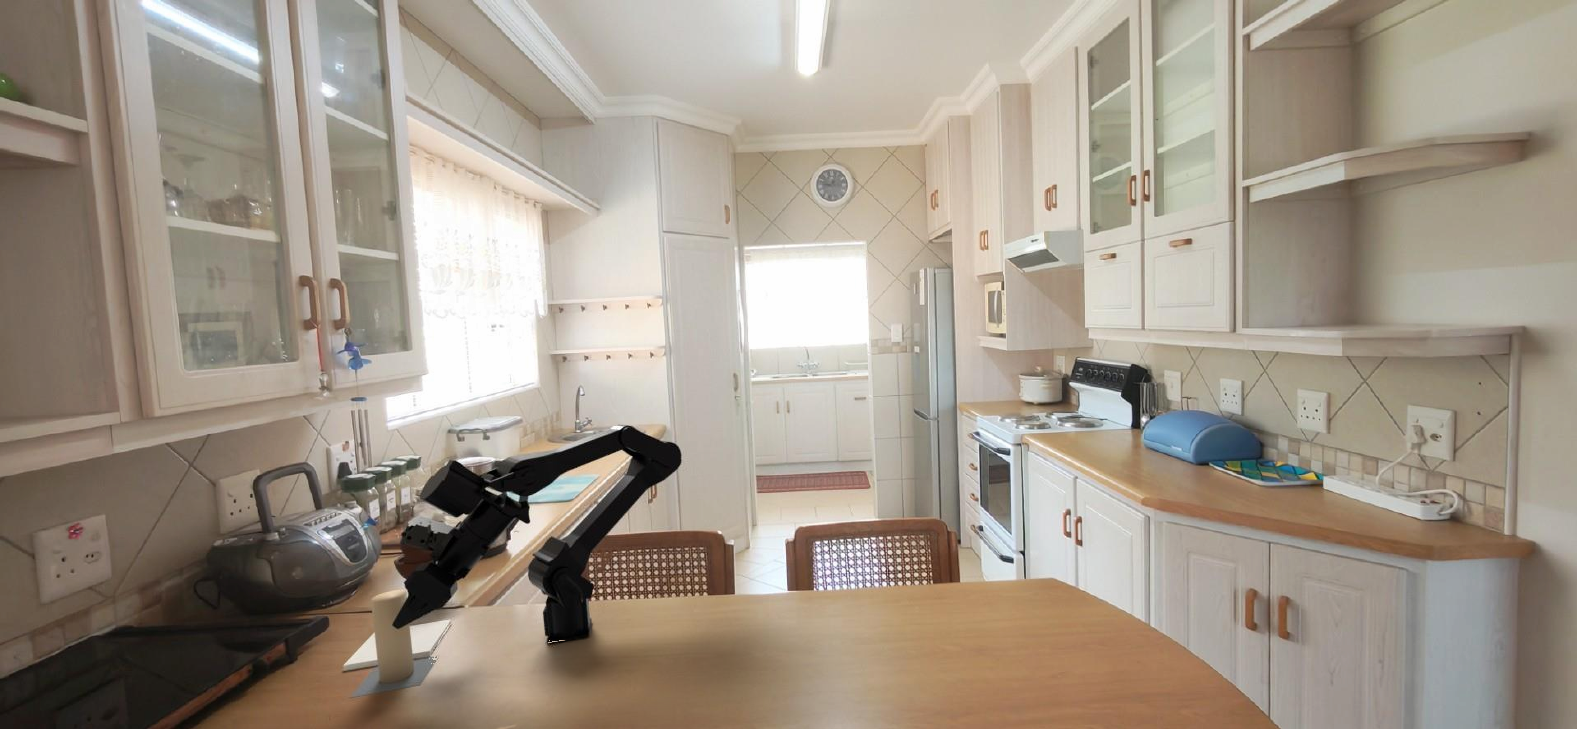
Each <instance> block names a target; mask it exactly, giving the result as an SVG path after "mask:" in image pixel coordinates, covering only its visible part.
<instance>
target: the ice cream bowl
mask: <svg viewBox="0 0 1577 729" xmlns="http://www.w3.org/2000/svg"><path fill="white" fill-rule="evenodd" d="M400 541H401V539H400ZM400 541H399V542H400ZM399 549H400V551H401V552H402V555H401V556H399V557H398V558H396V559H394V560H393V564H394V566H395V570H396V571H397V572H398V574H399V575H400V576H401V577H402V578H403V579H404V580H406V579H407V578H408V577H409V576H410V575H411V574H412V573H413V571H414V570H415V569H416V568H417V567H418V566H419V565H420V564H423V563H430V562H431V563H433V559H432V558H430V557H429V554H430V553H431V552H432V551H428V550H424V549H420V548H416V547H412V546H408V547H407V546H404V545H401V544H400V543H399Z"/></svg>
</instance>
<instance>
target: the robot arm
mask: <svg viewBox="0 0 1577 729" xmlns="http://www.w3.org/2000/svg"><path fill="white" fill-rule="evenodd" d="M620 451H622V452H624V453H625V454H626V455H628V456H630V457H631V458H630V461H629V463H628V464H629V465H628V467H627V471H626V473H625V474H624V476H622V477H621V479H620V480H619V481H618V482H616V484H615V485H614V486H613V487H612V488H611V489H610V490H609V491H608V492H607V493H606V494H605V496H604V497H603V498H602V499H601V500H600V501H599V502H598V503H597V504H596V506H594V508H592V510H591V511H590V512H589V513H588V514H587V515H586V516H585V517H584V518H583V519H582V521H581V522H579V523H578V525H576V527H575V528H574V529H573V530H572V531H571V532H570V533H569V534H568V535H567V536H565V537H563V538H561V539H560V538H558V537H555V536H552V535H551V536H550V537H549V538H548V539H546V541H545V542H544V544H543V545H542V546H541V548H539V549H538V550H537V551H536V552H533V553H532V554H531V555H532V557H534V558H532V560H531V561H530V563H529V565H528V567H527V569H528V571H527V573H528V574H527V577H528V580H529V582H530V583H531V585H533V587H536V588H537V589H539V590H540V591H541V593H542V595H544V596H547V598H546V601H545V606H544V608H543V610H542V618H543V628H544V629H543V630H544V636H545V637H547V639H546V643H547V642H552V641H559V640H568V641H573V640H572V639H574V640H578V639H585V638H589V637H590V636H591V629H592V623H593V620H592V619H593V618H592V617H591V616H590V615H591V613H590V604H589V603H590V602H589V599H591V598H592V597H593V594H594V593H593V592H594V586H595V584H594V583H593V582H592V581H590V580H588V579H586V578H585V577H584V576H583V574H584V573H585V571H586V569H587V566H588V563H589V560H590V556H591V554H592V552H593V551H594V550H595V549H596V548H597V547H598V545H599V544H601V542H602V541H603V540H604V539H605V538H606V536H607V535H608V534H609V533H610V532H611V531H612V530H613V529H614V527H616V525H617V524H618V523H619V522H620V521H621V520H622V518H623V517H624V516H625V515H626V514H627V513H628V512H629V511H630V510H631V508H632V507H633V506H634V505H635V504H636V503H637V501H638V500H639V499H640V498H641V497H642V496H643V495H644V494H645V493H646V491H647V490H649V489H650V488H652V487H654V486H656V485H658V484H660V483H661V482H664V481H666V480H667V479H668V478H669V477H670V476H671V475H673V474H674V473H675V472H676V471H677V470H678V469H679V468H680V467H681V465H682V461H683V460H682V451H681V448H680V447H679V445H677V443H675V442H673V441H666V440H665V441H664V440H661V439H658V438H656V437H653V436H651V435H649V434H647V433H644V432H643V431H641V430H639V429H636V427H634V426H633V425H630V424H628V425H627V424H615V425H613V426H611V428H608V429H606V430H602V431H600V432H597V433H594V434H592V435H589V436H587V437H584V438H581V439H578V440H575V441H572V442H570V443H568V444H565V445H561V446H559V447H556V448H554V449H550V450H545V451H536V452H529V453H528V452H527V453H524V454H517V455H513V456H512V455H511V456H509V457H506V458H504V459H503V460H502V461H500V462H499V465H498V467H495V468H493V469H491V470H487V471H484V472H482V473H480V474H477V473H475V472H474V471H472V470H470V469H468V468H467V467H466V466H464V465H463V463H461V462H459V461H458V460H455V459H453V458H452V459H449V460H448V461H447V463H446V464H445V465H444V466H442V467H441V468H440V469H438V470H437V472H435V474H433V475H431V476H430V477H429V479H428V480H427V481H426V482H425V484H424V486H423V487H422V489H421V492H420V494H419V500H421V501H422V502H425V503H426V504H429V505H430V506H432V507H434V508H436V509H437V510H440V511H442V512H443V513H446V514H447V515H449V516H451V517H453V518H455V519H457V518H459V517H462V516H463V515H465V518H464V519H463V520H462V521H461V520H459V522H458V523H457V524H456V525H455V526H452V525H449V524H447V523H445V522H442V521H437V520H434V519H431V518H427V517H424V516H414V517H413V518H412V519H410V520H409V521H408V522H407V524H406V526H405V529H404V530H403V531H402V532H401V534H400V536H401V539H400V540H401V541H399V544H401V545H404V546H407V547H408V546H412V547H416V548H420V549H424V550H428V551H432V552H431V553H430V554H429V557H430V558H432V559H433V563H431V562H430V563H423V564H420V565H419V566H418V567H417V568H416V569H415V570H414V571H413V573H412V574H411V575H410V576H409V577H408V578H407V579H404V582H403V584H404V588H405V590H406V592H407V599H406V601H405V603H404V604H403V606H402V608H401V610H400V611H399V613H398V615H397V617H396V618H395V620H394V622H393V624H392V626H393V627H395V628H396V629H400V628H402V627H404V626H405V625H407V624H409V623H410V624H411V623H413V622H415V621H417V620H419V619H420V618H423V617H425V616H426V615H429V614H431V613H433V612H434V611H436V610H440V609H441V610H442V609H443V608H444V607H445V606H446V605H447V604H448V602H449V601H450V600H451V599H452V597H454V595H455V594H456V592H457V591H458V582H459V581H460V580H461V579H465V578H466V577H467V576H468V575H469V573H470V572H471V570H472V569H474V568H475V566H476V565H477V563H478V562H479V561H480V560H481V558H482V557H484V556H485V555H486V554H487V552H489V550H490V549H491V548H492V546H493V545H494V544H495V542H497V540H498V539H499V538H500V537H501V536H502V535H503V533H504V532H505V531H506V530H507V529H508V528H509V527H510V525H512V523H513V522H514V521H515V519H517V520H519V521H520V522H522V523H525V524H527V525H528V524H530V523H531V518H530V508H531V507H530V503H529V501H528V500H523V501H517V500H516V499H514V498H512V497H510V496H508V495H507V494H505V493H511V494H514V495H516V496H518V497H519V496H520V497H530V496H533V495H535V494H537V493H538V492H540V491H542V490H543V489H545V488H547V487H549V486H550V485H552V484H553V483H554V482H555V481H556V480H558V479H559V477H561V476H562V475H564V474H566V473H567V472H570V471H573V470H575V469H578V468H579V467H582V466H585V465H588V464H590V463H593V462H595V461H597V460H600V459H602V458H605V457H607V456H610V455H612V454H616V453H618V452H620ZM487 489H490V490H492V491H496V492H499V493H500V494H497V493H493V492H491V491H489V490H487ZM589 635H590V636H589ZM549 640H550V641H549Z"/></svg>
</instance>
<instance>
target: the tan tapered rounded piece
mask: <svg viewBox="0 0 1577 729" xmlns="http://www.w3.org/2000/svg"><path fill="white" fill-rule="evenodd" d="M407 597H408V593H407V590H406V589H405V590H403V589H397V590H390V591H387V592H386V591H385V592H383V593H380V594H377V595H375V596H374V597H373V598H371V599H370V601H371V611H372V621H373V631H374V632H375V642H376V651H377V661H378V665H377V666H378V671H379V680H380V682H381V683H385V684H386V683H394V682H397V681H400V680H403V679H405V678H407V677H409V676H410V675H412V674H413V673H414V663H413V660H414V659H413V653H412V643H411V633H410V626H411V625H410V624H411V623H409V624H407V625H405V626H404V627H402V628H400V629H396V628H395V627H393V626H392V624H393V622H394V620H395V618H396V617H397V615H398V613H399V611H400V610H401V608H402V606H403V604H404V603H405V601H406V599H407ZM374 632H373V633H374Z"/></svg>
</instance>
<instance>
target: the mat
mask: <svg viewBox="0 0 1577 729" xmlns="http://www.w3.org/2000/svg"><path fill="white" fill-rule="evenodd" d="M435 656H436V657H435V658H437V656H438V655H435ZM429 658H430V659H429ZM432 658H434V656H428V657H422V658H416V659H413V663H414V673H413V674H412V675H410V676H409V677H407V678H405V679H403V680H400V681H397V682H394V683H386V684H385V683H381V682H380V680H379V671H378V665H376V666H374V668H373V669H372V670H371V671H370V672H369V674H367V676H366V677H365V679H363V681H361V683H360V684H359V685H358V686H357V688H356V689H355V691H354V692H353V693H352V694H351V695H350V696H349V699H351V698H352V699H353V698H356V697H363V696H368V695H373V694H374V695H375V694H380V693H385V692H386V693H387V692H391V691H397V690H401V689H407V688H413V687H418V686H419V687H420V686H421V685H422V684H423V682H424V681H425V679H426V677H427V676H428V674H429V673H430V672H431V670H432V669H433V667H434V665H435V664H433V663H436V662H437V661H436V660H433V659H432ZM431 663H432V664H431Z"/></svg>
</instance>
